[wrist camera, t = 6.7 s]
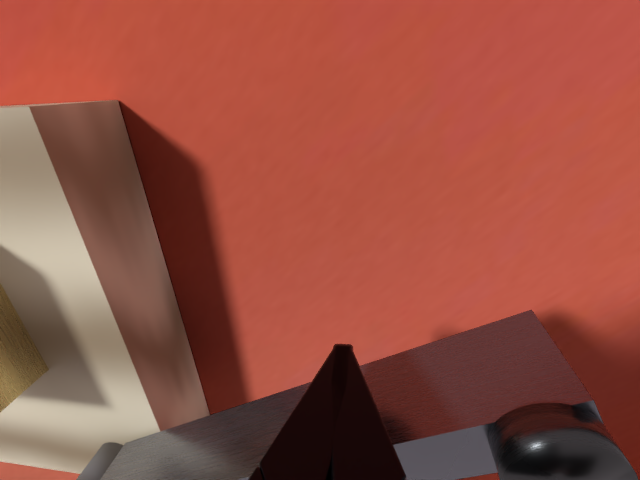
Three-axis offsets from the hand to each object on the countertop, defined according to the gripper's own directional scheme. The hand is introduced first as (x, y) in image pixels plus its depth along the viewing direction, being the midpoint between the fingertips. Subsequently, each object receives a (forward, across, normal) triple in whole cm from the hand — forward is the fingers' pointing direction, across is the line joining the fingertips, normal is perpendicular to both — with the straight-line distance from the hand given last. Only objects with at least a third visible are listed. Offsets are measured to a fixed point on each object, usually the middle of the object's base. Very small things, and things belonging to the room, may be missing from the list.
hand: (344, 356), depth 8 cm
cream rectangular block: (+4, +12, +2) cm, 13 cm away
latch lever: (+1, +2, +3) cm, 4 cm away
